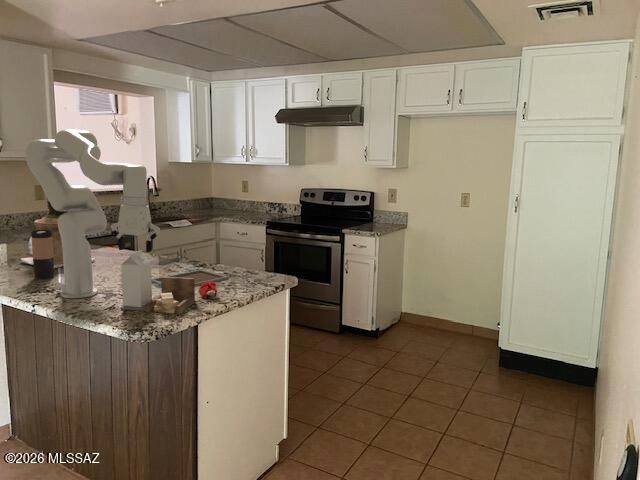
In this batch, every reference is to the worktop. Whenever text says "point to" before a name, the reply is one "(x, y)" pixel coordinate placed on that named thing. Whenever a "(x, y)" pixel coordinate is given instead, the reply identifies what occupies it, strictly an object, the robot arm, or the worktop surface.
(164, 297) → the offcut top
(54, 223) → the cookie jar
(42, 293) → the worktop surface
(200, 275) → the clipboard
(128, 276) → the milk carton
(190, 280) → the rack
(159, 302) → the offcut mid
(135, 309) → the pad
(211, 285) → the red rounded piece
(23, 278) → the worktop surface
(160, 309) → the offcut low
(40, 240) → the travel mug
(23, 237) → the worktop surface
